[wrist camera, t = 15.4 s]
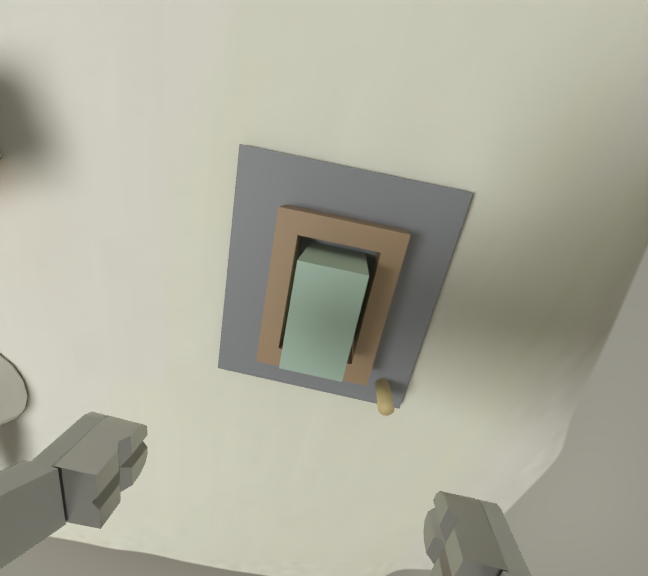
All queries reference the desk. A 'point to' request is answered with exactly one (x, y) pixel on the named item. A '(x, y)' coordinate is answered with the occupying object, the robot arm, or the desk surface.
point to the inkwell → (11, 392)
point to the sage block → (324, 310)
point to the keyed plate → (346, 232)
